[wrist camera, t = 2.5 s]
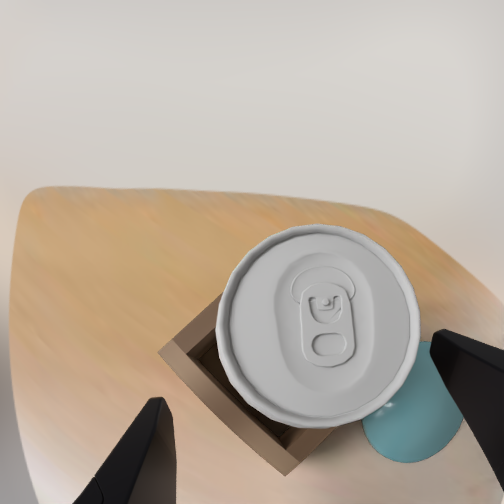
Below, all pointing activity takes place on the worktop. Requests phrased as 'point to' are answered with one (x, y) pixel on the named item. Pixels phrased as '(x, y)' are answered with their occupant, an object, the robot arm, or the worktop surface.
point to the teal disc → (415, 415)
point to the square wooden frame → (226, 405)
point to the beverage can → (318, 326)
